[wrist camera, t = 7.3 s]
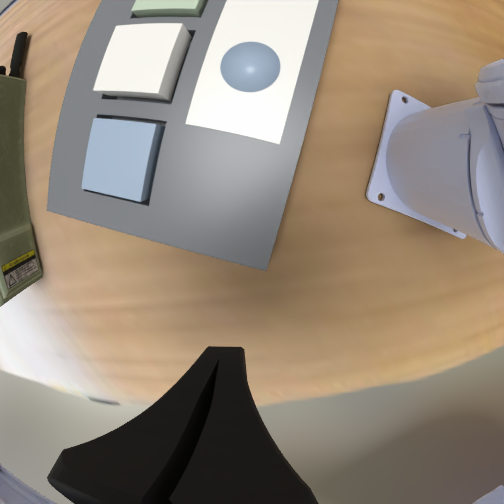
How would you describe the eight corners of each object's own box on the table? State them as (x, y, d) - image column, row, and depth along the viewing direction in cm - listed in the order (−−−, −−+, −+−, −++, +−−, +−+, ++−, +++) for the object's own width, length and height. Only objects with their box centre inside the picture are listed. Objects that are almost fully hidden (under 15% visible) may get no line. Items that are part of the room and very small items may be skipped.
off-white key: (191, 37, 12) (182, 23, 10) (170, 100, 14) (158, 93, 12) (130, 36, 12) (116, 25, 10) (109, 96, 14) (92, 90, 12)
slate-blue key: (168, 128, 15) (156, 124, 13) (153, 197, 16) (140, 201, 14) (110, 121, 15) (93, 117, 13) (98, 184, 16) (81, 188, 14)
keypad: (346, -50, 10) (353, -68, 7) (266, 257, 18) (266, 272, 16) (164, -66, 10) (155, -81, 7) (67, 204, 18) (45, 211, 15)
